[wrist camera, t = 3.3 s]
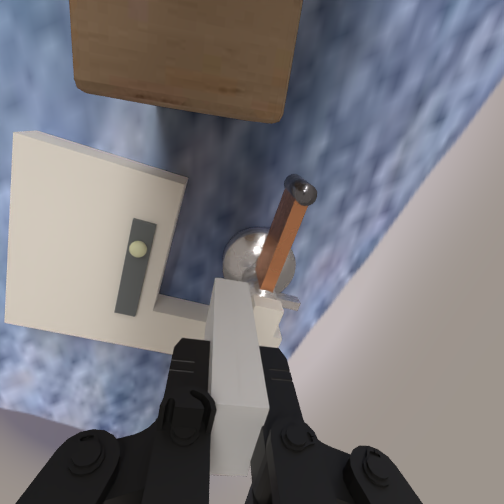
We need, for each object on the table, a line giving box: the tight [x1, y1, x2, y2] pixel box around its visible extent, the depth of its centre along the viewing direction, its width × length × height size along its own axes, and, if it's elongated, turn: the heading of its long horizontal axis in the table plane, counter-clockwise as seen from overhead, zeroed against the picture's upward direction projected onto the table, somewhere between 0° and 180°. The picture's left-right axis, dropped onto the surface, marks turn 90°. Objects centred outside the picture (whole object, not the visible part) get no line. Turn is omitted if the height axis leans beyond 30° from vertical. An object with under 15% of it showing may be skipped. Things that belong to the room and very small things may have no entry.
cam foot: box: [221, 174, 317, 311], centre depth 35 cm, size 18×10×9 cm, turn 161°
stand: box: [5, 131, 284, 355], centre depth 34 cm, size 22×33×12 cm, turn 71°
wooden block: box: [69, 0, 303, 124], centre depth 22 cm, size 10×10×20 cm
